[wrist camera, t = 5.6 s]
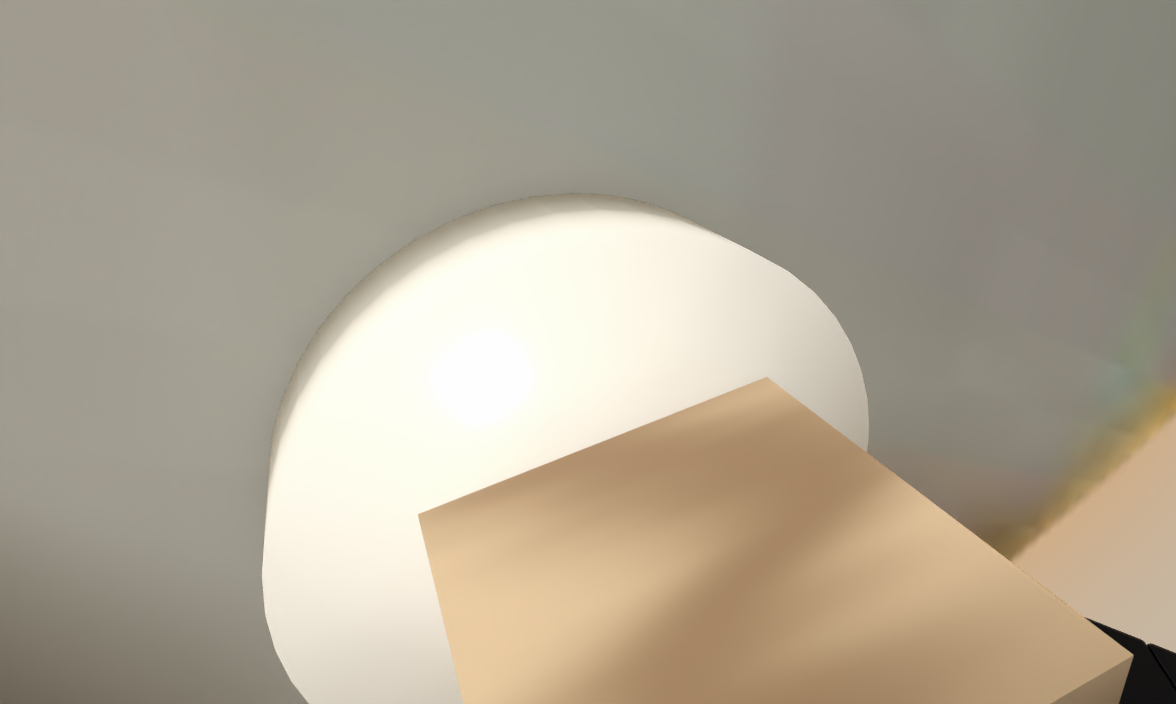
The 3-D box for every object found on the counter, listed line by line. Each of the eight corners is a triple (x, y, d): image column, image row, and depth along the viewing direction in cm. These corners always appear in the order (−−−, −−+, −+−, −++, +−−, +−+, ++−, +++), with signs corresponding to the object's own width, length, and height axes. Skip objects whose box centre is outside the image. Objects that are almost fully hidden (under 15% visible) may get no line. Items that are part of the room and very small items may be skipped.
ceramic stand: (769, 122, 12) (873, 144, 10) (794, 543, 17) (866, 619, 15) (147, 308, 9) (104, 390, 7) (387, 733, 14) (402, 855, 12)
